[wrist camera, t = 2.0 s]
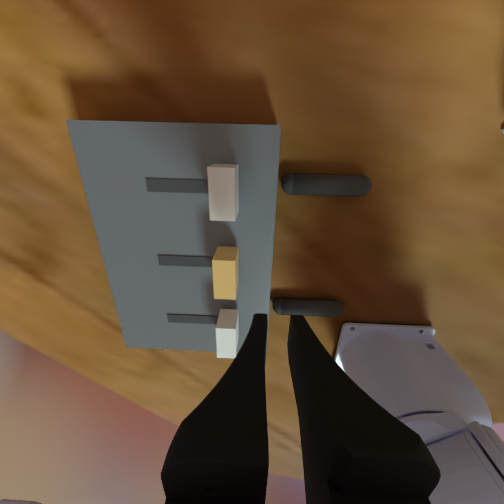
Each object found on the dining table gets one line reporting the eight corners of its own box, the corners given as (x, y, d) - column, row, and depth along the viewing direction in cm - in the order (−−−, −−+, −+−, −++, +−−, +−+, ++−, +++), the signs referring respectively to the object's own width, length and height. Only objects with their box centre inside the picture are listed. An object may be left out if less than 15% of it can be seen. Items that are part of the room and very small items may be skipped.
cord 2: (341, 297, 24) (346, 307, 23) (338, 310, 25) (343, 320, 23) (272, 294, 24) (273, 304, 23) (271, 307, 25) (272, 317, 24)
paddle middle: (238, 246, 18) (235, 260, 16) (238, 282, 20) (235, 299, 18) (217, 246, 18) (212, 260, 16) (219, 281, 20) (214, 298, 18)
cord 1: (368, 174, 19) (377, 177, 18) (364, 194, 20) (372, 198, 18) (281, 172, 19) (283, 174, 18) (280, 192, 20) (281, 196, 19)
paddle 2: (238, 309, 21) (235, 328, 19) (238, 337, 22) (235, 358, 20) (220, 308, 21) (215, 328, 19) (221, 336, 22) (217, 357, 20)
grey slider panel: (278, 127, 18) (281, 124, 15) (265, 332, 26) (266, 354, 23) (95, 123, 18) (64, 119, 15) (140, 326, 27) (125, 348, 24)
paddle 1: (238, 164, 16) (234, 167, 14) (238, 211, 17) (235, 221, 15) (214, 163, 16) (207, 167, 14) (216, 210, 17) (209, 220, 15)
